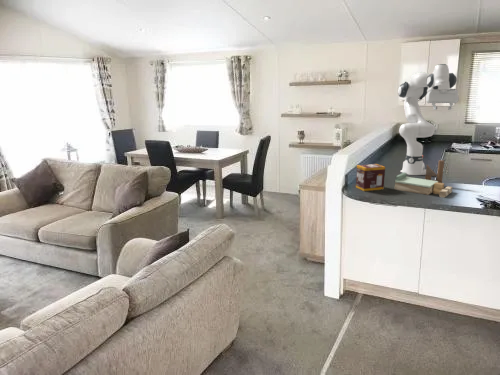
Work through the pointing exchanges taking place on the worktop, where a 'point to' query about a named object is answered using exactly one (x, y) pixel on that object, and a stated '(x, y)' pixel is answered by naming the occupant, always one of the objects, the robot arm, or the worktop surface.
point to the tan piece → (422, 189)
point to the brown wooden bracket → (431, 173)
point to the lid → (414, 181)
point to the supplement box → (370, 177)
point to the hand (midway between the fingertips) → (442, 109)
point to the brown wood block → (438, 187)
